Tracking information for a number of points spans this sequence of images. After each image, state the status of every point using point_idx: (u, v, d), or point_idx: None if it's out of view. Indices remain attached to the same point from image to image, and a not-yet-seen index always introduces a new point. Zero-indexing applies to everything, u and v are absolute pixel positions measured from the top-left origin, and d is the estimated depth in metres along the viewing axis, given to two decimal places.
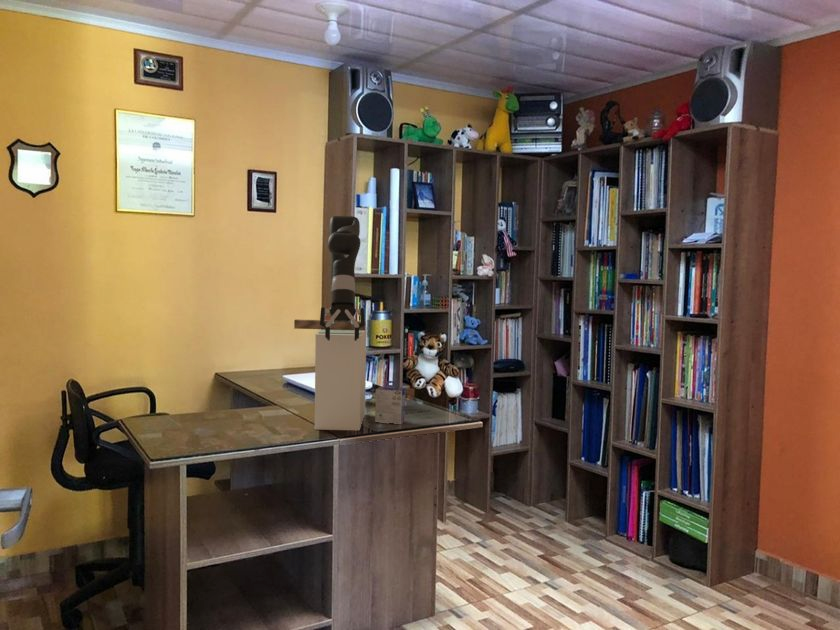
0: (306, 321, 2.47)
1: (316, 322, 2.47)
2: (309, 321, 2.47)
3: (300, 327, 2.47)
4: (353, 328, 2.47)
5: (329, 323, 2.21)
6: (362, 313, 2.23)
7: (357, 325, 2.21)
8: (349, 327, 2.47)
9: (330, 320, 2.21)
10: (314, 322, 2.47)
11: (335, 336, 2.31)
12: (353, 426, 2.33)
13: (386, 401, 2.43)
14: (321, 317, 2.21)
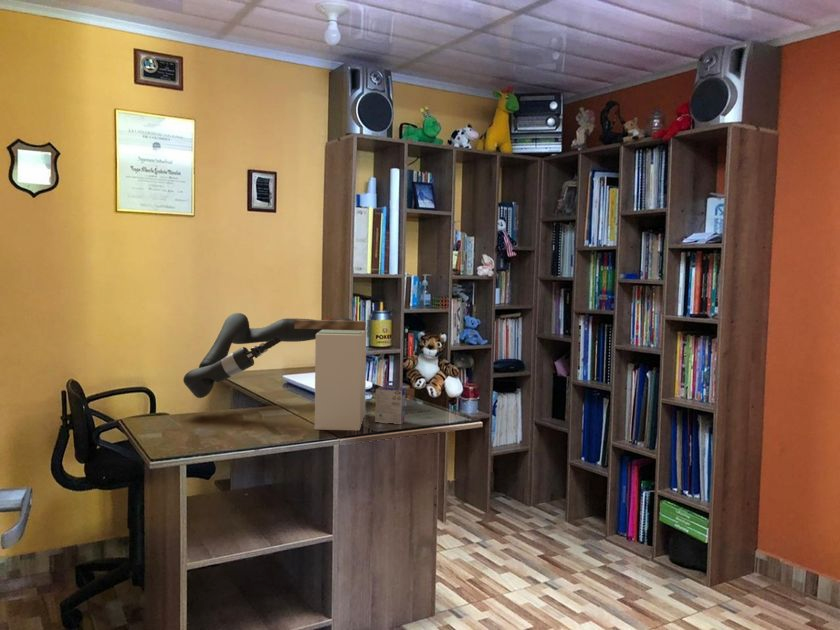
0: (306, 321, 2.47)
1: (316, 322, 2.47)
2: (309, 321, 2.47)
3: (300, 327, 2.47)
4: (353, 328, 2.47)
5: (268, 348, 2.53)
6: None
7: (264, 351, 2.44)
8: (349, 327, 2.47)
9: None
10: (314, 322, 2.47)
11: (335, 336, 2.31)
12: (353, 426, 2.33)
13: (386, 401, 2.43)
14: None
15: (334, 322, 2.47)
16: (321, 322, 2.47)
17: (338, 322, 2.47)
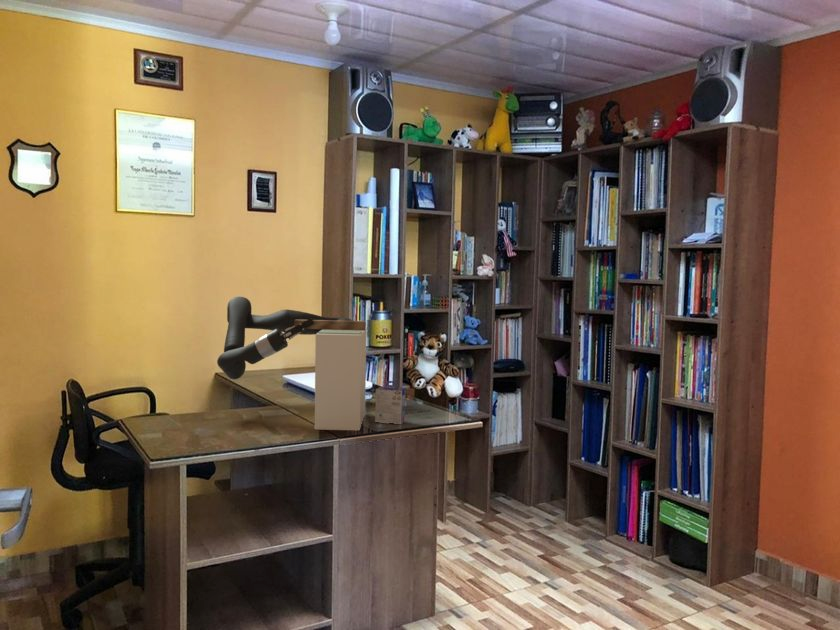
0: None
1: (316, 322, 2.47)
2: None
3: None
4: (353, 328, 2.47)
5: None
6: (292, 335, 2.43)
7: (303, 330, 2.46)
8: (349, 327, 2.47)
9: (301, 331, 2.51)
10: (314, 322, 2.47)
11: (335, 336, 2.31)
12: (353, 426, 2.33)
13: (386, 401, 2.43)
14: None
15: (334, 322, 2.47)
16: (321, 322, 2.47)
17: (338, 322, 2.47)
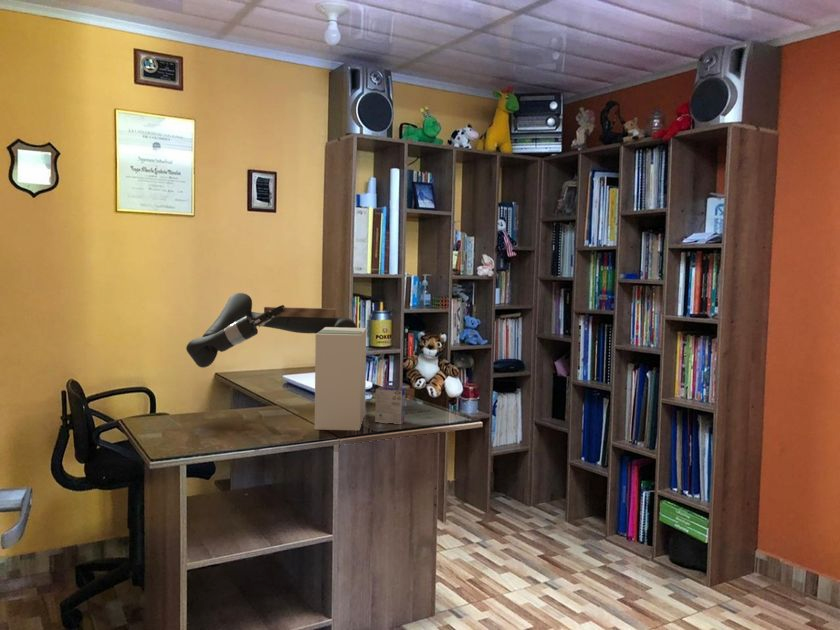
0: None
1: (286, 309, 2.44)
2: None
3: None
4: (323, 316, 2.44)
5: (273, 317, 2.48)
6: (261, 323, 2.41)
7: (272, 317, 2.44)
8: (319, 314, 2.44)
9: (271, 319, 2.48)
10: (284, 309, 2.44)
11: (335, 336, 2.31)
12: (353, 426, 2.33)
13: (386, 401, 2.43)
14: None
15: (304, 309, 2.44)
16: (291, 309, 2.44)
17: (308, 309, 2.44)
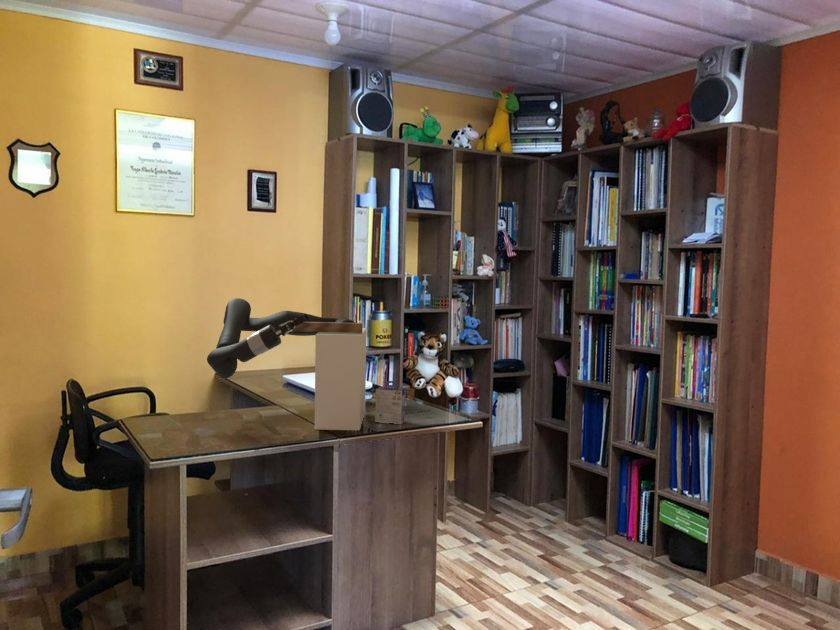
0: None
1: (310, 324, 2.35)
2: (303, 323, 2.35)
3: (294, 329, 2.35)
4: (349, 330, 2.35)
5: None
6: (282, 334, 2.30)
7: (294, 327, 2.32)
8: (345, 329, 2.35)
9: None
10: (308, 324, 2.35)
11: (335, 336, 2.31)
12: (353, 426, 2.33)
13: (386, 401, 2.43)
14: None
15: (329, 324, 2.35)
16: (316, 324, 2.35)
17: (333, 324, 2.35)
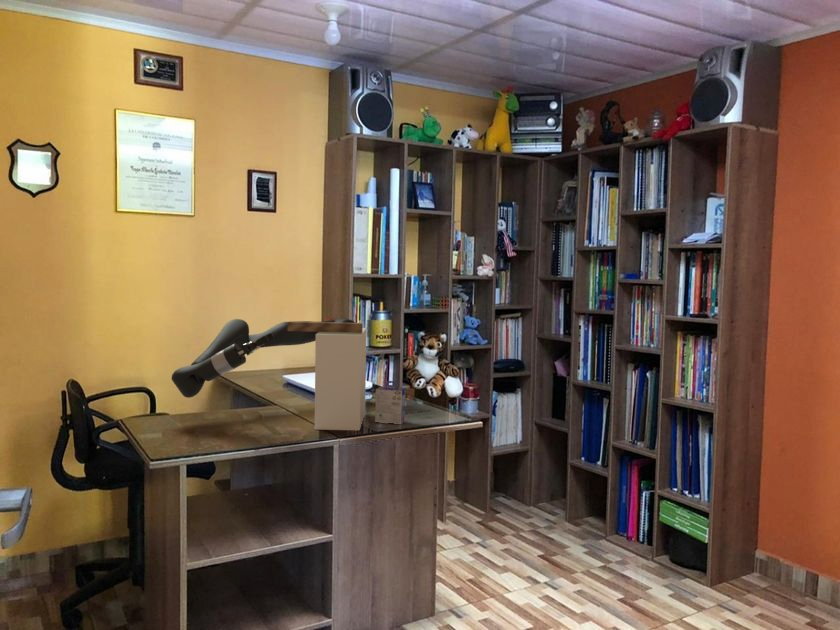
0: (300, 323, 2.35)
1: (310, 324, 2.35)
2: (303, 323, 2.35)
3: (294, 329, 2.35)
4: (349, 330, 2.35)
5: None
6: None
7: (256, 348, 2.32)
8: (345, 329, 2.35)
9: None
10: (308, 324, 2.35)
11: (335, 336, 2.31)
12: (353, 426, 2.33)
13: (386, 401, 2.43)
14: None
15: (329, 324, 2.35)
16: (316, 324, 2.35)
17: (333, 324, 2.35)
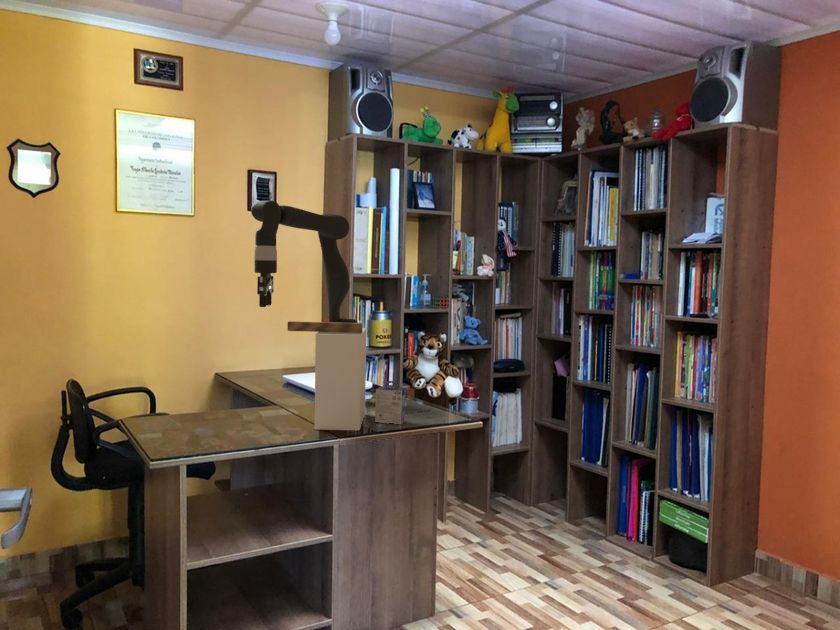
0: (300, 323, 2.35)
1: (310, 324, 2.35)
2: (303, 323, 2.35)
3: (294, 329, 2.35)
4: (349, 330, 2.35)
5: None
6: None
7: None
8: (345, 329, 2.35)
9: None
10: (308, 324, 2.35)
11: (335, 336, 2.31)
12: (353, 426, 2.33)
13: (386, 401, 2.43)
14: None
15: (329, 324, 2.35)
16: (316, 324, 2.35)
17: (333, 324, 2.35)
